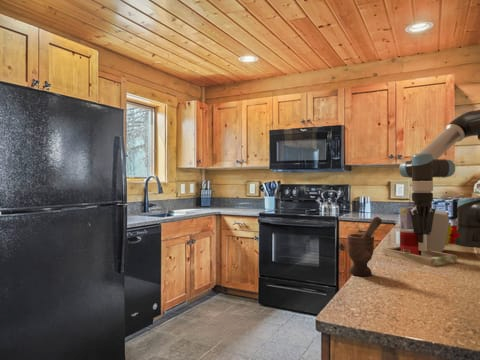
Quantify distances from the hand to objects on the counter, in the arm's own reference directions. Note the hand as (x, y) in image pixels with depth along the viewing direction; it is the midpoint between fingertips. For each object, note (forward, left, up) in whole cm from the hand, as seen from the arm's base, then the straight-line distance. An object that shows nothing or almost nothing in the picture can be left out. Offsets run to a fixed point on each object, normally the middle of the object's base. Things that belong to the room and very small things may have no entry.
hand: (422, 250), depth 141 cm
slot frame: (0, -2, -3) cm, 4 cm away
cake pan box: (-38, -33, -4) cm, 51 cm away
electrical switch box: (-19, -7, -4) cm, 20 cm away
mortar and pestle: (+38, +7, -4) cm, 39 cm away
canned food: (0, -5, -4) cm, 6 cm away
